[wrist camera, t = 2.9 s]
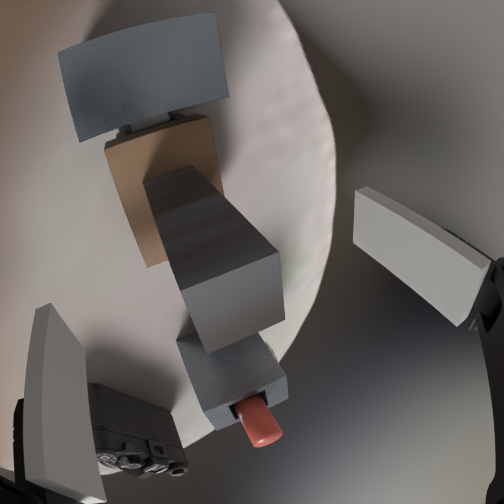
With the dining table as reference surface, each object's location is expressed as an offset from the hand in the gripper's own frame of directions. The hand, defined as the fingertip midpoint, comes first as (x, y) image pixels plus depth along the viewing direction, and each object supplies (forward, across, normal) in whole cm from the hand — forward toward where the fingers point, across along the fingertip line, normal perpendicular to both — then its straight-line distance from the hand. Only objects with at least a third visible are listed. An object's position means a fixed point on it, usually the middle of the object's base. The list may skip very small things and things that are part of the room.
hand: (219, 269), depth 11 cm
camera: (+13, -17, -26) cm, 34 cm away
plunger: (+4, 0, -19) cm, 20 cm away
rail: (+13, 0, -6) cm, 14 cm away
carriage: (+12, 0, 0) cm, 13 cm away
